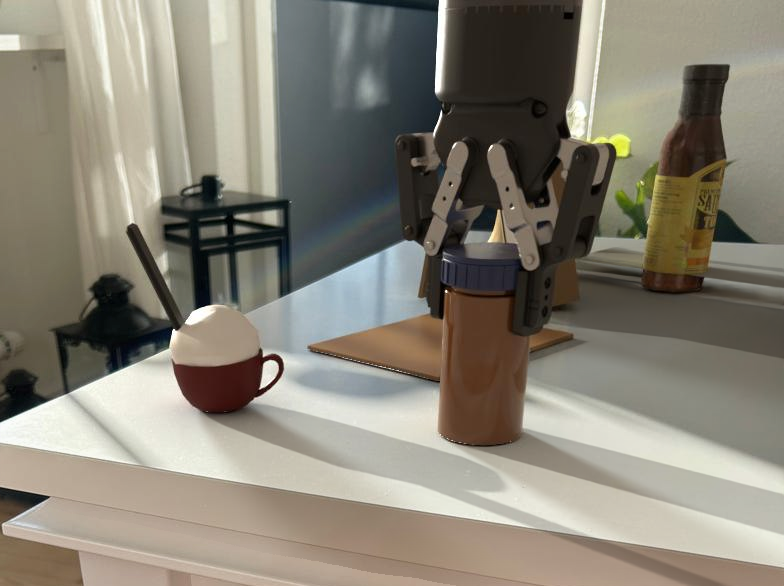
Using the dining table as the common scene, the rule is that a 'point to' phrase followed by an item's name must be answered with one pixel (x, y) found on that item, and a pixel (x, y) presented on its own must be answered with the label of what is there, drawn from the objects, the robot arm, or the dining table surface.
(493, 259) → the lid
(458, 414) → the jar
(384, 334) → the mat
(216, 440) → the dining table surface
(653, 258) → the sauce bottle
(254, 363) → the cocoa
